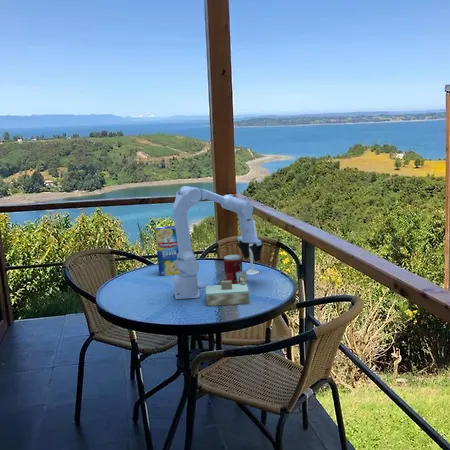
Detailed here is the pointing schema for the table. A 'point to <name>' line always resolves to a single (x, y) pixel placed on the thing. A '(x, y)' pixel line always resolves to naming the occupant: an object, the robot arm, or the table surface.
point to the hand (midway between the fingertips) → (252, 259)
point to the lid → (226, 289)
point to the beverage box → (167, 250)
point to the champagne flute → (252, 271)
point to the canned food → (232, 267)
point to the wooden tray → (227, 299)
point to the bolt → (242, 280)
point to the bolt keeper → (240, 274)
